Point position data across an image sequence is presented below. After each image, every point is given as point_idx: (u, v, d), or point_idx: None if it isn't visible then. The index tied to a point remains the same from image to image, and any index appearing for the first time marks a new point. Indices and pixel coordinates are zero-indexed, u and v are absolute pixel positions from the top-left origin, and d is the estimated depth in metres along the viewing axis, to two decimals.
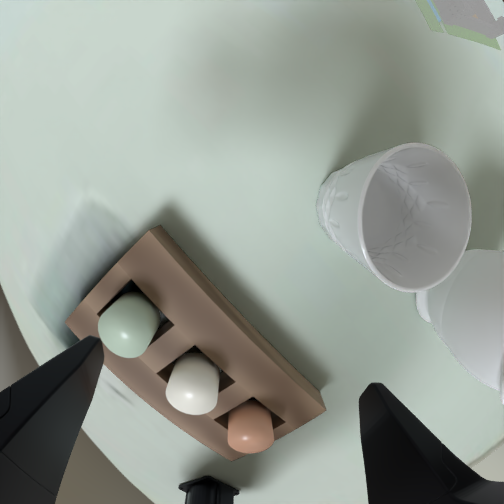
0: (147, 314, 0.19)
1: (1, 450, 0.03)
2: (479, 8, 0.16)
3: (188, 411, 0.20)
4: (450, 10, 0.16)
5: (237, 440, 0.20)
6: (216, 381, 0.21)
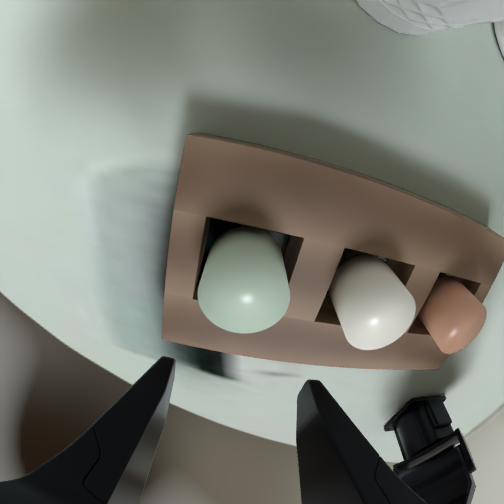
0: (259, 246, 0.13)
1: (106, 503, 0.03)
2: None
3: (384, 342, 0.14)
4: None
5: (450, 340, 0.14)
6: (398, 278, 0.13)
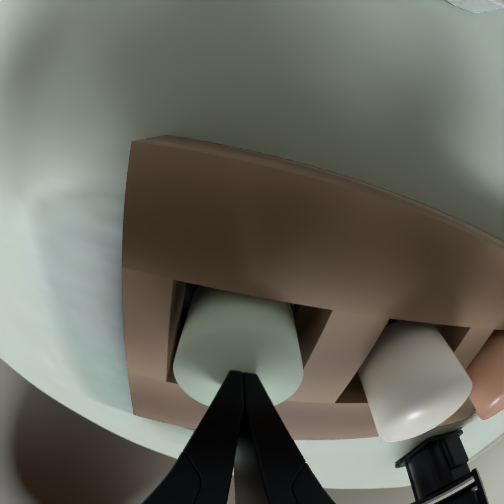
0: (260, 304, 0.09)
1: None
2: None
3: (424, 430, 0.08)
4: None
5: (493, 407, 0.09)
6: (454, 354, 0.08)
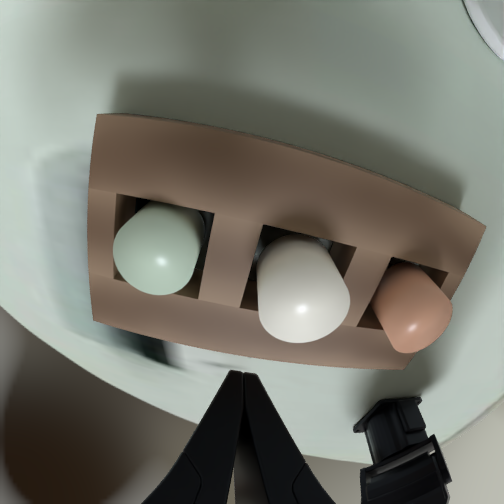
0: (169, 209, 0.13)
1: None
2: None
3: (314, 335, 0.13)
4: None
5: (405, 337, 0.13)
6: (329, 260, 0.12)
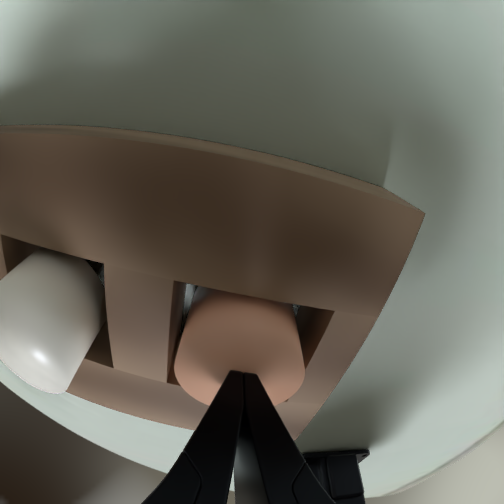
0: None
1: None
2: None
3: (51, 387, 0.07)
4: None
5: (209, 389, 0.08)
6: (42, 285, 0.07)
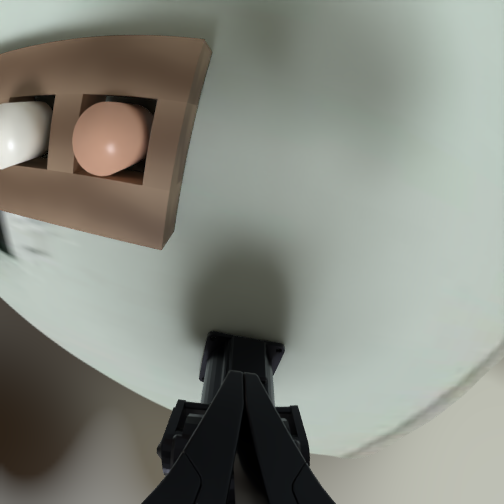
0: None
1: None
2: None
3: (8, 159, 0.11)
4: None
5: (87, 152, 0.13)
6: (25, 103, 0.11)
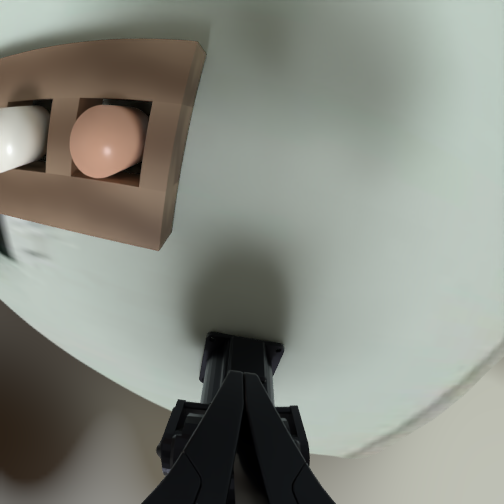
0: None
1: None
2: None
3: (6, 163, 0.11)
4: None
5: (84, 155, 0.13)
6: (23, 108, 0.11)
